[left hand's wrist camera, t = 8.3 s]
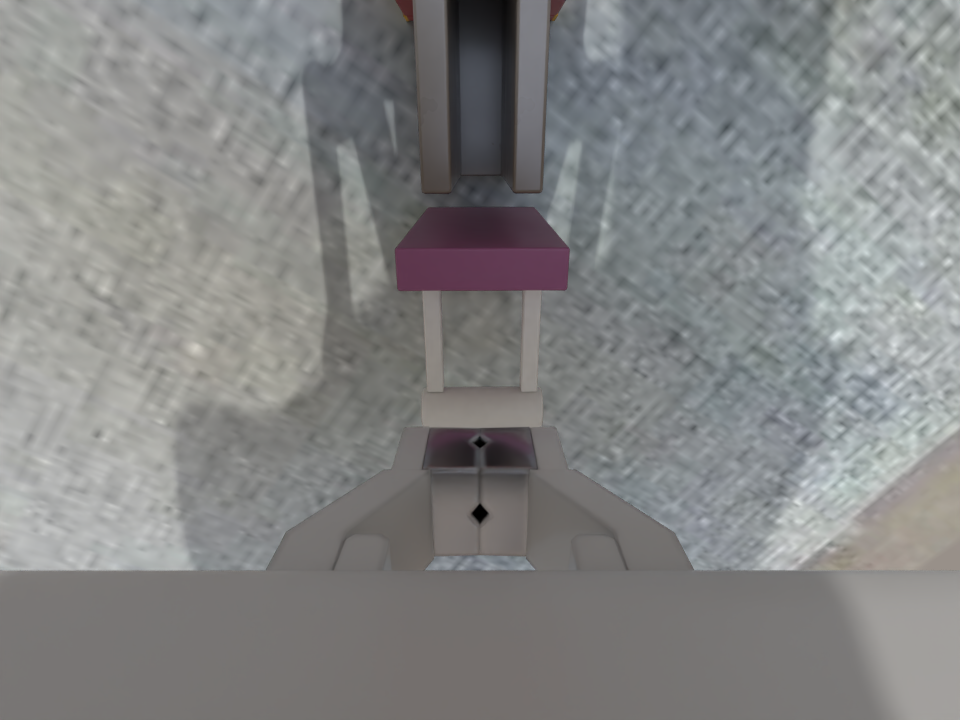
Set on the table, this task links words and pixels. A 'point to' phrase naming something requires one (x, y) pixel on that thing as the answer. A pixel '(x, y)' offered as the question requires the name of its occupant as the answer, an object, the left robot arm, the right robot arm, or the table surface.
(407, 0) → the red yellow-edged box
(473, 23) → the drawer
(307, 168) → the table surface
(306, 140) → the table surface
